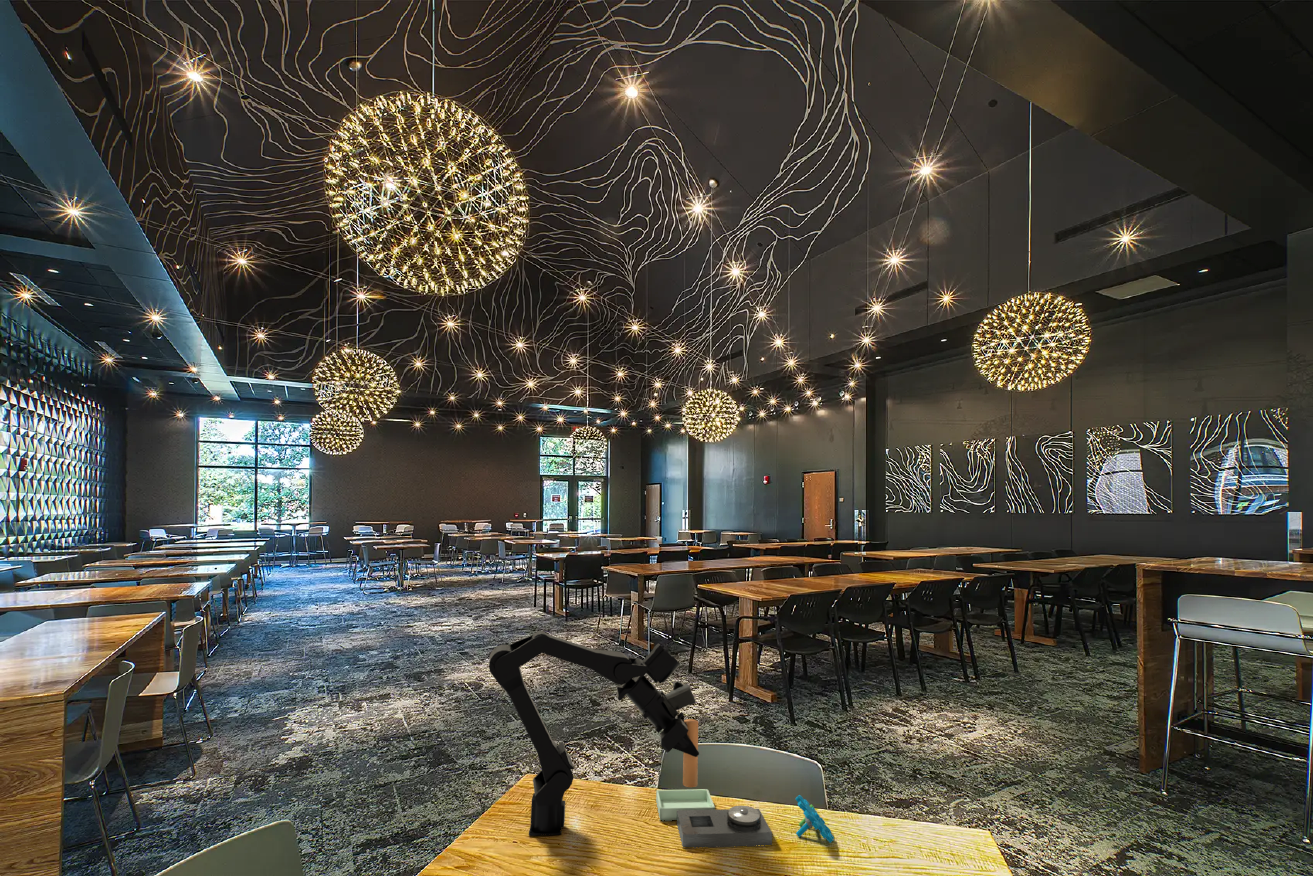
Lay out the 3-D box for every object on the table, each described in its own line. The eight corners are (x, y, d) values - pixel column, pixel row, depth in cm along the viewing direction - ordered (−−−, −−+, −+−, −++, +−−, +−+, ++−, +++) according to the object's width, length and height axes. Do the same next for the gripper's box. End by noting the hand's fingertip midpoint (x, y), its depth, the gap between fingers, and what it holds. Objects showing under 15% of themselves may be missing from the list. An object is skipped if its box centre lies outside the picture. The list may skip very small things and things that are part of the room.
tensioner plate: (682, 848, 117) (683, 822, 118) (676, 823, 127) (676, 799, 128) (771, 845, 119) (771, 820, 120) (759, 821, 129) (758, 798, 129)
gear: (838, 845, 117) (800, 800, 120) (816, 866, 116) (779, 821, 120) (834, 826, 127) (799, 785, 130) (814, 846, 127) (780, 804, 130)
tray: (659, 821, 128) (660, 808, 128) (656, 801, 137) (656, 790, 137) (714, 819, 129) (714, 807, 129) (707, 800, 138) (707, 789, 138)
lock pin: (683, 787, 129) (684, 724, 131) (682, 781, 132) (683, 719, 134) (698, 787, 129) (699, 724, 131) (696, 781, 132) (697, 719, 134)
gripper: (678, 683, 124) (730, 740, 123) (670, 663, 143) (715, 711, 142) (639, 723, 123) (692, 780, 122) (636, 697, 141) (682, 747, 140)
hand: (696, 752), depth 131 cm, fingers closed on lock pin, 3 cm apart
